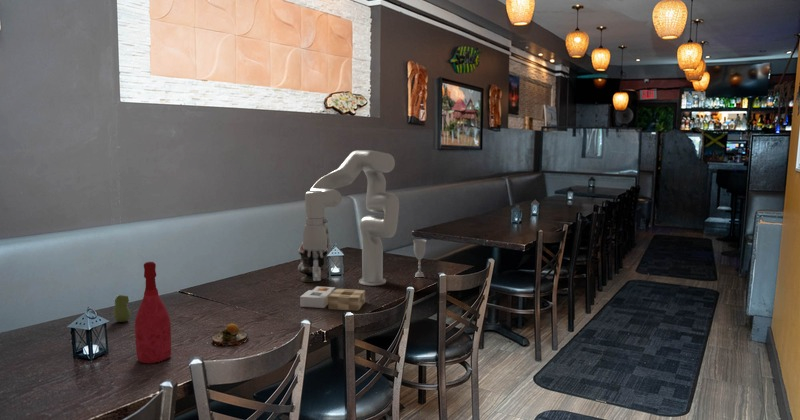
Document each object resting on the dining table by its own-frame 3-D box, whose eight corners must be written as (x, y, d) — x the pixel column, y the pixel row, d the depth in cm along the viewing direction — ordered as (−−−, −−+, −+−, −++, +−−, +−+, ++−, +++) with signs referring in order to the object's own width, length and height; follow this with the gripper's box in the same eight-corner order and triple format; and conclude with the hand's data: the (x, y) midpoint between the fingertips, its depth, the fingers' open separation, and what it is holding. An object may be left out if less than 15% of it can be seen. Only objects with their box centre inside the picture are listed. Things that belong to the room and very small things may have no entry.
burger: (234, 332, 194) (234, 311, 194) (255, 340, 187) (255, 318, 186) (203, 341, 185) (203, 319, 184) (224, 350, 178) (223, 327, 177)
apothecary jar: (328, 280, 265) (327, 243, 262) (304, 284, 258) (304, 245, 256) (316, 275, 275) (316, 239, 272) (294, 278, 268) (293, 241, 266)
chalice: (425, 279, 268) (425, 242, 266) (411, 278, 269) (411, 241, 267) (427, 275, 275) (427, 239, 273) (413, 274, 277) (414, 238, 274)
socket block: (314, 294, 241) (314, 285, 241) (337, 295, 239) (337, 286, 239) (300, 306, 224) (300, 296, 223) (324, 307, 222) (324, 298, 221)
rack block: (337, 300, 232) (337, 288, 232) (365, 301, 230) (365, 290, 230) (328, 308, 220) (328, 296, 220) (358, 310, 218) (357, 298, 218)
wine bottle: (143, 352, 175) (138, 258, 171) (176, 352, 175) (171, 258, 172) (131, 365, 165) (125, 266, 161) (165, 364, 166) (160, 265, 162)
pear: (111, 322, 203) (109, 295, 202) (124, 318, 208) (122, 291, 206) (120, 325, 200) (119, 297, 199) (134, 320, 205) (132, 294, 204)
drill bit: (314, 278, 229) (313, 250, 227) (322, 279, 228) (321, 250, 226) (311, 280, 225) (310, 251, 224) (319, 281, 225) (318, 252, 223)
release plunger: (320, 293, 238) (320, 287, 238) (328, 294, 238) (328, 287, 237) (317, 296, 235) (317, 289, 234) (325, 296, 234) (325, 289, 234)
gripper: (337, 220, 226) (338, 265, 228) (298, 219, 228) (300, 263, 231) (332, 223, 218) (333, 269, 221) (292, 222, 221) (293, 268, 224)
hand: (316, 266), depth 226 cm, fingers closed on drill bit, 3 cm apart
